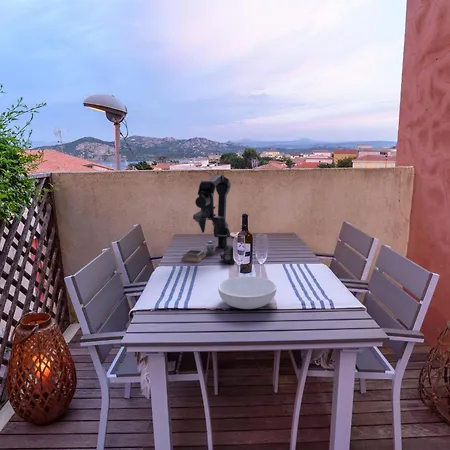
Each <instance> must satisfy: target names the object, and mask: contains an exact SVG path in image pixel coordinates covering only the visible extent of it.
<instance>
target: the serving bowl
mask: <svg viewBox="0 0 450 450" xmlns="http://www.w3.org/2000/svg"><path fill="white" fill-rule="evenodd" d="M277 287H278V286H277V284H276V283H275V282H274V281H272V280H271V279H268V278H265V277H260V276H253V275H252V276H251V275H249V276H248V275H247V276H245V275H244V276H235V277H230V278H227V279H224V280H223V281H221V282H220V283H219V284H218V287H217V289H218V294H219V297H220V299H222V301H223V302H224V303H225V304H227V305H228V306H231V307H233V308H237V309H241V310H242V309H243V310H252V309H253V310H254V309H259V308H262V307H265V306H267V305H268V304H269V303H271V302H272V301H273V299H274V298H275V297H276V293H277Z"/></svg>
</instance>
